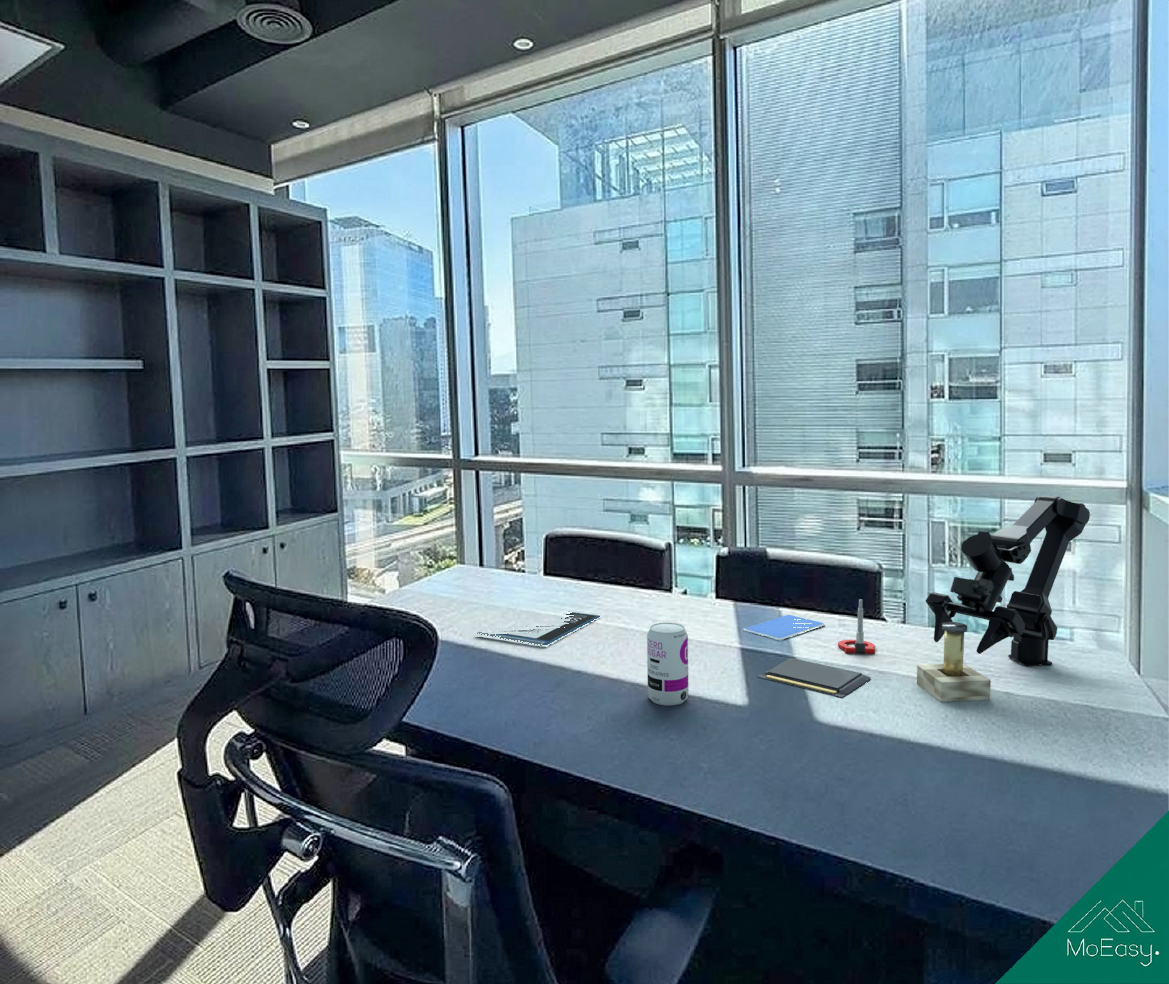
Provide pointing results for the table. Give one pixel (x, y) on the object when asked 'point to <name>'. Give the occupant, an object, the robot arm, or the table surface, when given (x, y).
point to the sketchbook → (549, 630)
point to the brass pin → (953, 648)
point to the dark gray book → (816, 677)
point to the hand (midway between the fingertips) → (956, 646)
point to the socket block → (953, 684)
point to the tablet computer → (783, 627)
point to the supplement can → (667, 663)
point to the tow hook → (858, 638)
